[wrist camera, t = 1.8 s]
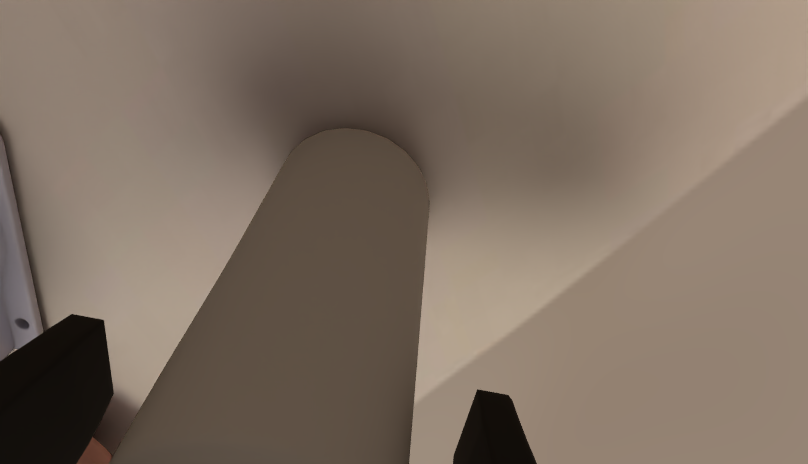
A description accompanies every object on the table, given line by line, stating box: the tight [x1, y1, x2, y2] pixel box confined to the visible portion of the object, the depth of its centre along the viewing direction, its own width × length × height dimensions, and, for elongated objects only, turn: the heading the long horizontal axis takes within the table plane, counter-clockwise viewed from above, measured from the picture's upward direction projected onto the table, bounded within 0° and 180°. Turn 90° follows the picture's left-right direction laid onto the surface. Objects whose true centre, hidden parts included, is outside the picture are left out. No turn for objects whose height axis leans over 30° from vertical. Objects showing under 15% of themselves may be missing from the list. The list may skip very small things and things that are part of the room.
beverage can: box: [109, 128, 430, 464], centre depth 14 cm, size 5×5×12 cm
